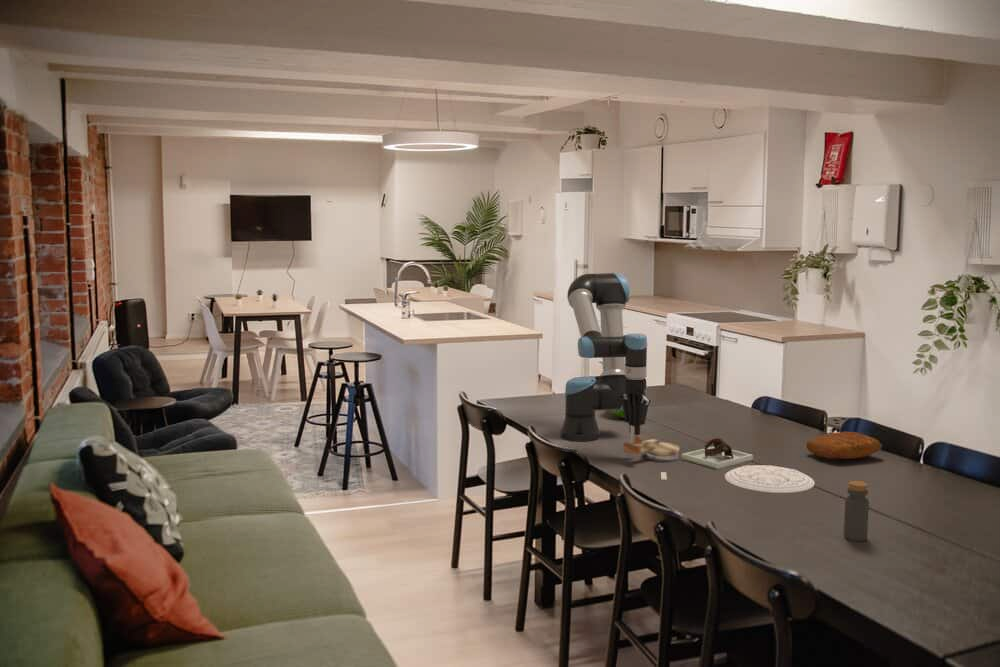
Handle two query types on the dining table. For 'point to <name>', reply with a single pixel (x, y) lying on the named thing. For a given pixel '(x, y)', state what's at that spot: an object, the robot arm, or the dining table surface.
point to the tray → (716, 458)
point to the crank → (650, 447)
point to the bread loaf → (843, 445)
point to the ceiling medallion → (769, 479)
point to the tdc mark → (663, 476)
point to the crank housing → (662, 457)
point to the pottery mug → (718, 448)
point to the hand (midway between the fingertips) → (634, 443)
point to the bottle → (856, 512)
